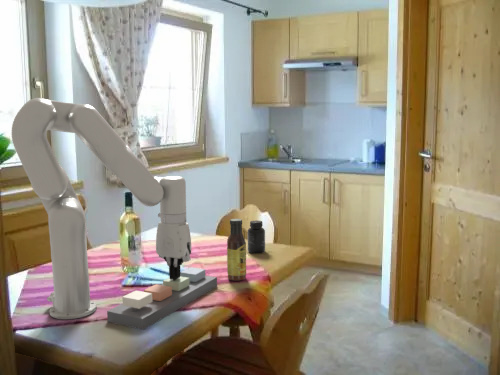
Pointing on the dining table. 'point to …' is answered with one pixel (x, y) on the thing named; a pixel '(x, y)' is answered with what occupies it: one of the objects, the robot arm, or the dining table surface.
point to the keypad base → (160, 305)
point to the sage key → (177, 283)
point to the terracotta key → (159, 292)
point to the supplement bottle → (256, 237)
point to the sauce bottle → (236, 252)
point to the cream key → (137, 299)
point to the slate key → (193, 274)
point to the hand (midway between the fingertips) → (174, 278)
